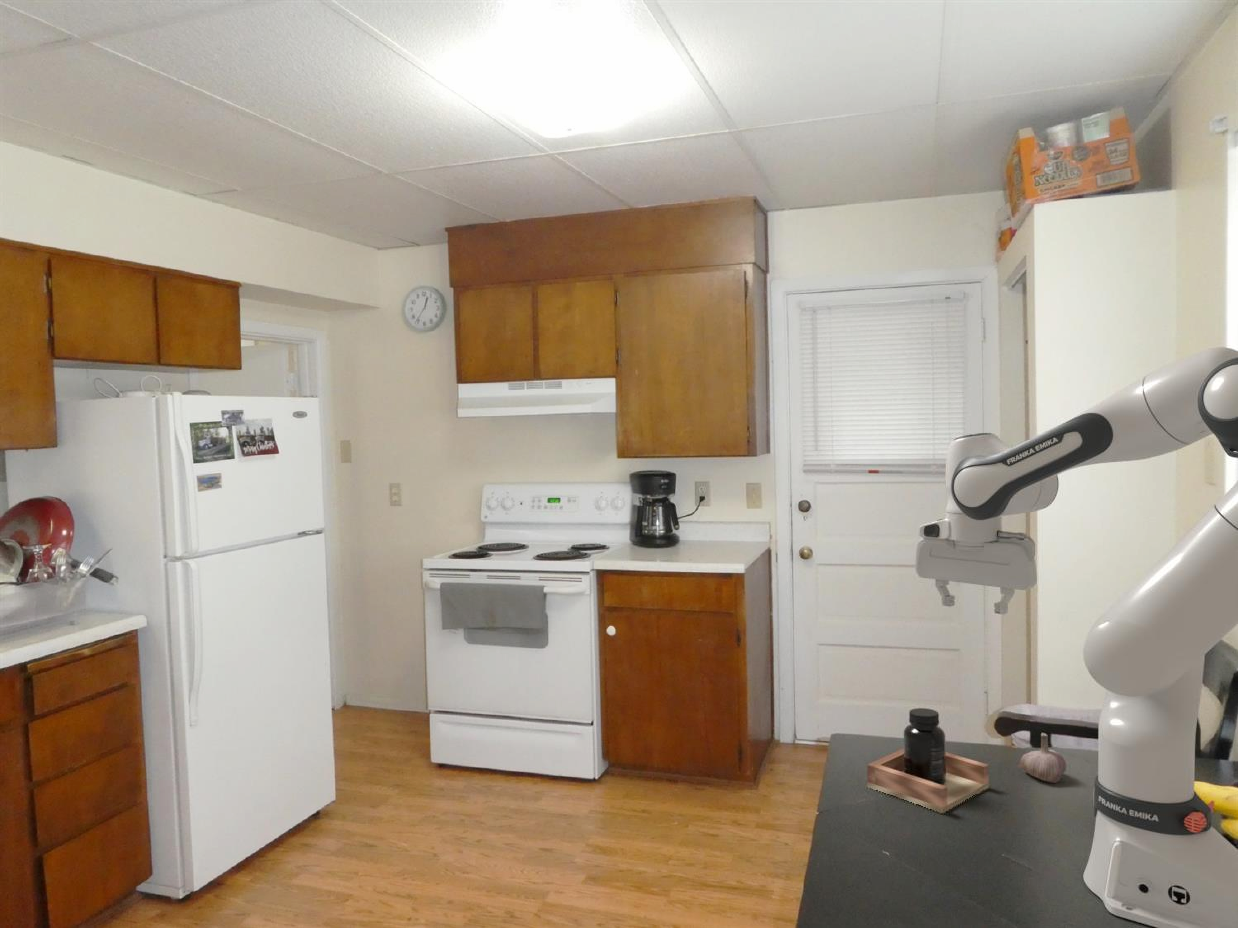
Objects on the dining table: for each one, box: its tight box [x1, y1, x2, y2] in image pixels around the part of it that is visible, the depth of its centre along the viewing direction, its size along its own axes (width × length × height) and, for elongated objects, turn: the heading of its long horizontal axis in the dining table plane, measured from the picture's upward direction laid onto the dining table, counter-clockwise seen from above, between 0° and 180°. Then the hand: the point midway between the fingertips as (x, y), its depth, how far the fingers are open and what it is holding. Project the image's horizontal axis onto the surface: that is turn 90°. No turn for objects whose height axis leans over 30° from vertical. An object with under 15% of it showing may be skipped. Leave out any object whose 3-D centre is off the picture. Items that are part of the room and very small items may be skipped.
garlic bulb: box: [1019, 732, 1067, 784], centre depth 157 cm, size 8×7×8 cm
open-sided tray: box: [866, 747, 990, 814], centre depth 153 cm, size 14×15×4 cm
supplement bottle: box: [903, 707, 947, 785], centre depth 154 cm, size 7×7×12 cm
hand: (974, 609), depth 153 cm, fingers open, 8 cm apart
